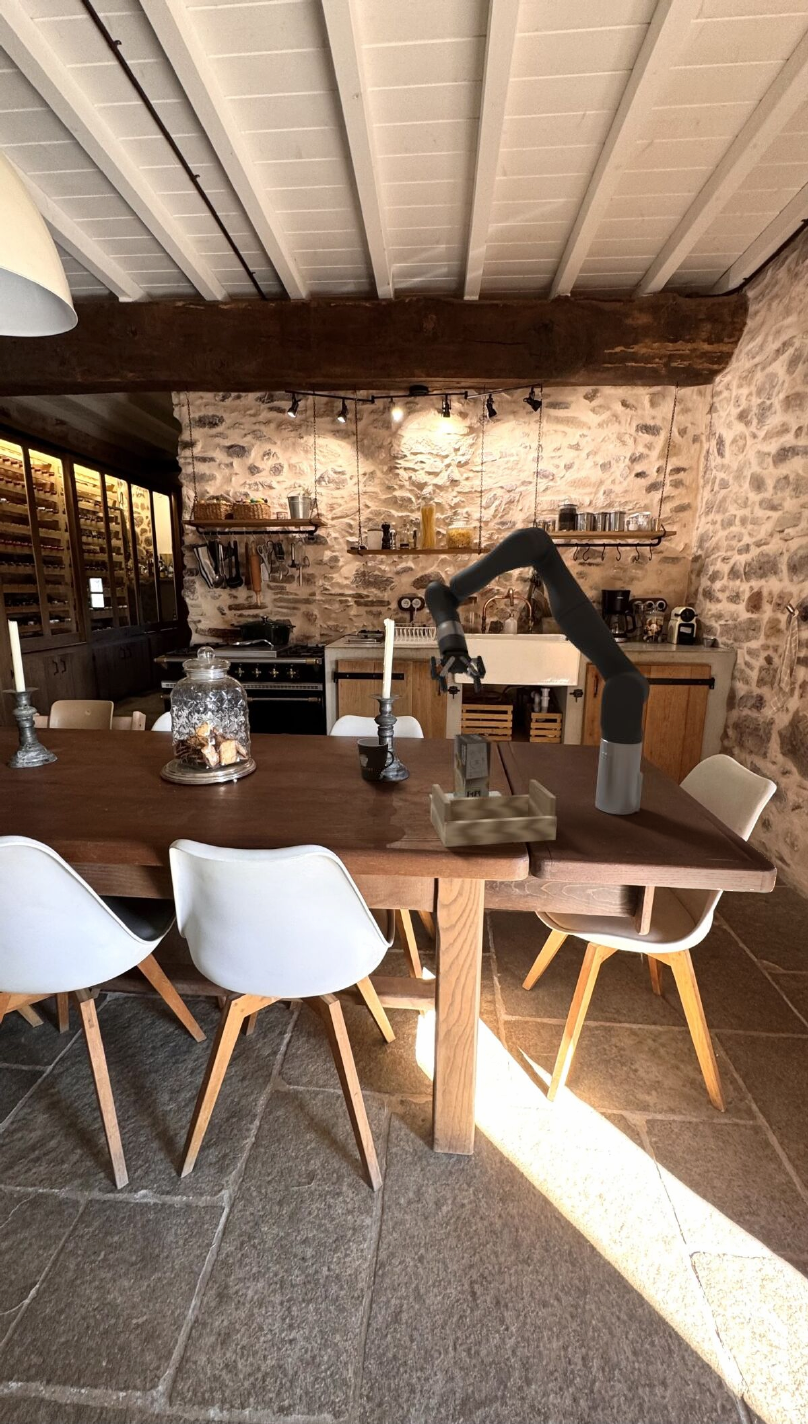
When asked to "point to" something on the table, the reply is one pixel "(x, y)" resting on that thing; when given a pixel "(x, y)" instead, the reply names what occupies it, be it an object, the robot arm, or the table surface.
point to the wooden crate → (494, 817)
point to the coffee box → (471, 766)
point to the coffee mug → (373, 758)
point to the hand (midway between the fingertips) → (461, 690)
